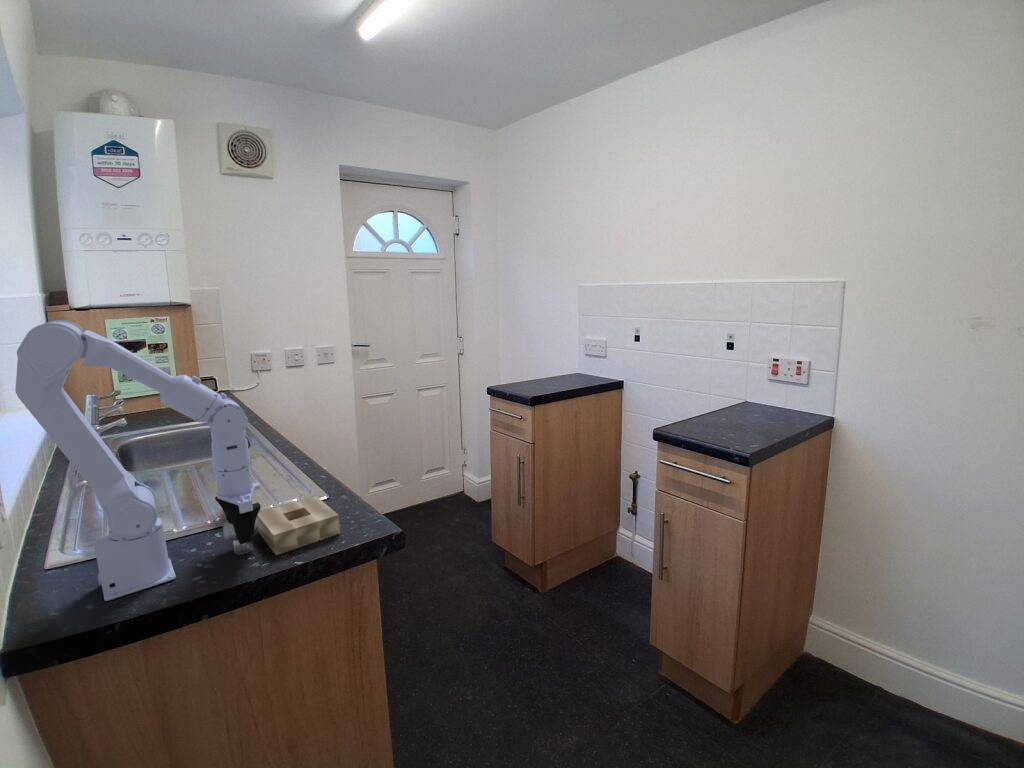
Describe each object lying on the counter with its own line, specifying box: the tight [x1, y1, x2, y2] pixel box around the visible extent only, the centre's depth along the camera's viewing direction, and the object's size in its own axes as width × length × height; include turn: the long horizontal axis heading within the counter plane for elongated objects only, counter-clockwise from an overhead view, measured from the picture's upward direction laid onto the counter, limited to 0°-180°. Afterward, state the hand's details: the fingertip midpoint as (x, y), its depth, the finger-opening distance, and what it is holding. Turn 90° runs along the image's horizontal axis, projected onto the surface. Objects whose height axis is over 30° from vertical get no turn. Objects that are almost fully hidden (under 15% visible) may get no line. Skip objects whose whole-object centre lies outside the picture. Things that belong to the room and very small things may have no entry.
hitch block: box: [257, 496, 341, 556], centre depth 100 cm, size 12×12×4 cm
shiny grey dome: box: [222, 518, 259, 555], centre depth 94 cm, size 6×6×6 cm
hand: (241, 535), depth 94 cm, fingers closed on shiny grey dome, 6 cm apart
